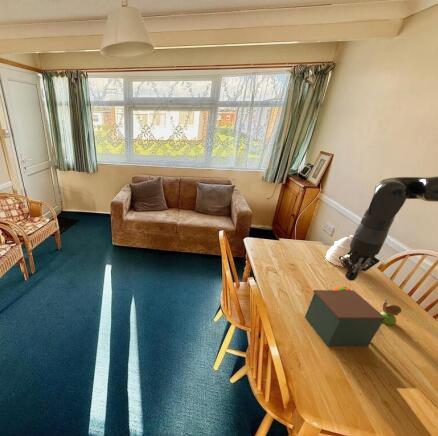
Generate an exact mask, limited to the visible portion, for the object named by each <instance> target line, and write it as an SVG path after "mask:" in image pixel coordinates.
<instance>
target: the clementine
mask: <svg viewBox="0 0 438 436" xmlns="http://www.w3.org/2000/svg"><path fill="white" fill-rule="evenodd" d="M333 290H351V289H350V288H349V287H347V286H345V285H338V286H335V288H333Z"/></svg>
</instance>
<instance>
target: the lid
mask: <svg viewBox="0 0 438 436" xmlns="http://www.w3.org/2000/svg"><path fill="white" fill-rule="evenodd" d="M314 293H315V294H316V295H317V296H318V297H319V299H320V300H321V301H322V302H323V303H324V304H325V305H326V306H327V307H328V308H329V309H330V310H331V311H332V312H333V314H334V315H335V316H336V317H337V318H338V319H385V317H384V316H383V315H382V314H381V312H380V311H378V310H377V309H376V308H375V307H373V306H372V305H371V304H370V303H369V302H367V300H365V299H364V298H363V297H362V296H361V295H360V294H358V292H356V291H355V290H353V289H352V290H351V289H350V290H334V289H320V290H319V289H314V290H313V294H314Z"/></svg>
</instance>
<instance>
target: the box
mask: <svg viewBox="0 0 438 436" xmlns="http://www.w3.org/2000/svg"><path fill="white" fill-rule="evenodd" d="M304 318H305V319H306V321H307V322H308V323H309V325H310V326H311V327H312V328H313V330H314V331H315V332H316V334H317V336H319V338H320V339H321V341H323V343H324V344H325V345H326V346H327V347H369V345H371V342H372V340H373V339H374V337H376V334H377V333H378V330H379V329H380V327H381V326H382V324H383V321H384V319H338V318H337V317H336V316H335V315H334V314H333V312H332V311H331V310H330V309H329V308H328V307H327V306H326V305H325V304H324V303H323V302H322V301H321V300H320V299H319V297H318V296H317V295H316V294H315V293H314V292H313V296H312V298H311V301H310V302H309V305H308V308H307V310H306V313H305V315H304Z"/></svg>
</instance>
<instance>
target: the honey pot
mask: <svg viewBox="0 0 438 436" xmlns="http://www.w3.org/2000/svg"><path fill="white" fill-rule="evenodd" d="M353 236H354V234H350V235H349V237H348V236H347V237H343V238H341V239H339V240H335V241H334V244H333V245H332V246H331V247H330V248H329V249H328V250H327V252H326V254H325V257H326V259H327V260H328V261H329V262H331V263H333V264H335V265H338V266H342V267H343V265H342V263H341V261H340V260H339V257H340V256H342V257H344V256H346V255H347V253H348V252H349V251H350V243H351V241H352V239H353ZM326 259H325V260H326ZM327 260H326V261H327ZM328 261H327V262H328ZM329 262H328V263H329ZM331 263H330V264H331ZM333 264H332V265H333ZM335 265H334V266H335ZM338 266H337V267H338ZM342 267H341V268H342Z"/></svg>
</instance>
